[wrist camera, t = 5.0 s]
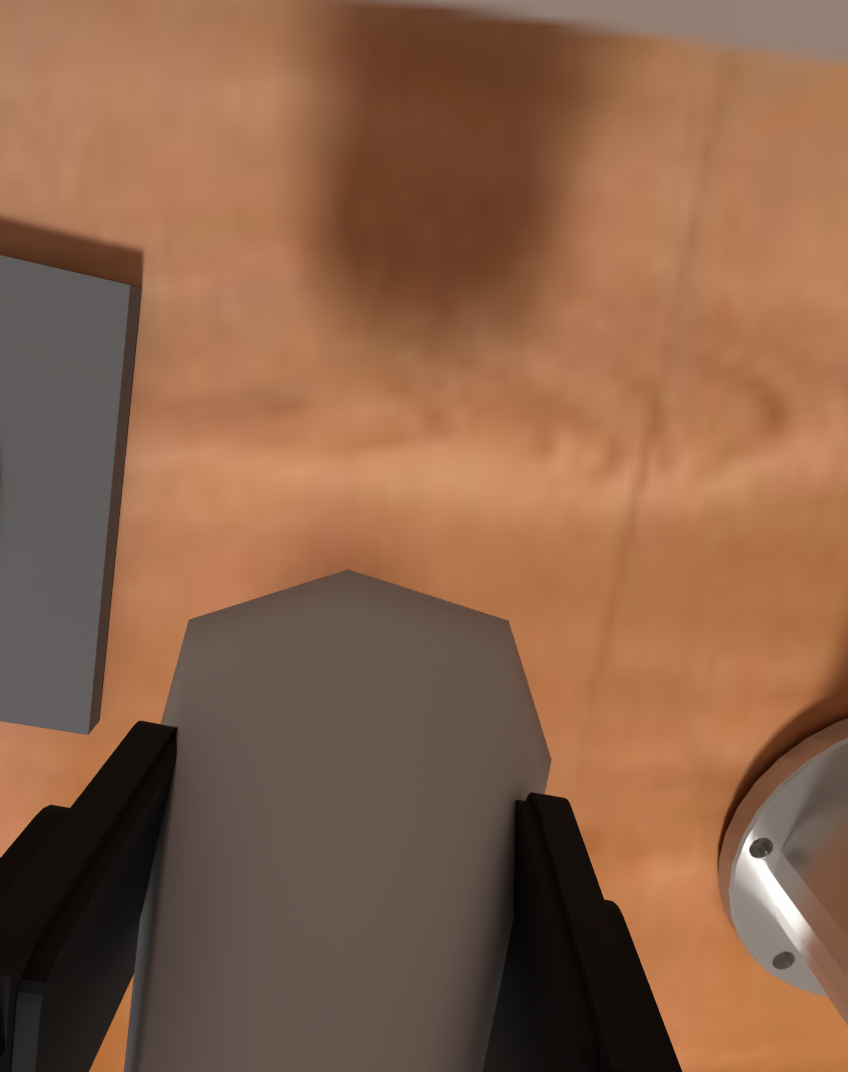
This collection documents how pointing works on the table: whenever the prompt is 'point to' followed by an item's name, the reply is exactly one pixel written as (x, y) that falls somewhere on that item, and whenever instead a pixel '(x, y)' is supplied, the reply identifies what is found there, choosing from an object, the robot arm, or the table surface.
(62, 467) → the saucer mat
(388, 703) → the flask
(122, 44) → the table surface
